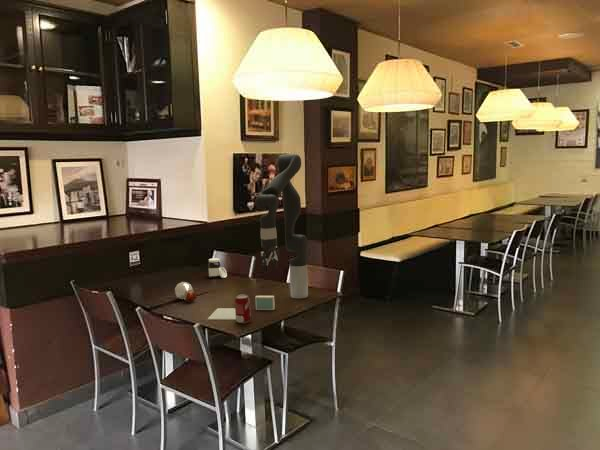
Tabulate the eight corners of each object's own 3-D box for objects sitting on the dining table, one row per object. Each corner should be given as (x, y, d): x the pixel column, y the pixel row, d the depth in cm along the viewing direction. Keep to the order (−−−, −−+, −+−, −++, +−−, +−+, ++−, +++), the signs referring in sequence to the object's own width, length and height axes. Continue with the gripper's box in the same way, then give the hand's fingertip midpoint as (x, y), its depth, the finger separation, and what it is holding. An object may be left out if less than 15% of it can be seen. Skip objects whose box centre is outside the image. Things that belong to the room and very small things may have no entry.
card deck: (256, 308, 243) (256, 295, 242) (274, 308, 242) (274, 295, 241) (255, 310, 240) (255, 297, 240) (273, 310, 239) (273, 297, 238)
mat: (217, 309, 243) (217, 308, 243) (245, 309, 241) (245, 308, 241) (207, 320, 228) (207, 318, 228) (236, 320, 226) (236, 319, 226)
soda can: (242, 325, 219) (241, 299, 217) (232, 322, 223) (231, 296, 221) (254, 321, 224) (252, 295, 222) (244, 318, 228) (242, 293, 226)
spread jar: (209, 275, 316) (208, 258, 315) (227, 274, 317) (226, 256, 316) (208, 280, 304) (207, 261, 303) (226, 279, 306) (225, 260, 304)
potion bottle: (183, 298, 270) (193, 308, 258) (168, 291, 264) (178, 301, 252) (192, 284, 271) (202, 292, 259) (178, 276, 265) (188, 285, 253)
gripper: (269, 234, 237) (271, 266, 239) (253, 239, 224) (255, 274, 227) (283, 234, 233) (284, 267, 236) (267, 240, 221) (269, 275, 223)
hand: (270, 270), depth 231 cm, fingers open, 8 cm apart
